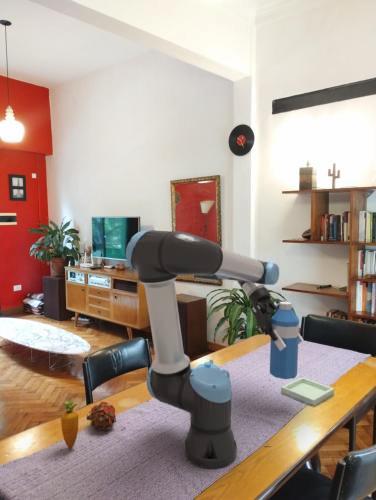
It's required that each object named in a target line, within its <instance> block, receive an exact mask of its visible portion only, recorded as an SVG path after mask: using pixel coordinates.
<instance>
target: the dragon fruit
mask: <svg viewBox="0 0 376 500" xmlns="http://www.w3.org/2000/svg"><path fill="white" fill-rule="evenodd" d="M88 413H89V415H88V414H87V415H86V416H85V417H86V420H87V421H91V422H90V425H91V427H93V428H95V429H98V430H101V431H106V430H109V429H111V427H112V425H113V424H114V423H116V422H117V420H116V419H117V418H116V408H115V407H114V405H112V404H109V403H108V402H107V401H100V402H99V404H96V405H94V406H93V407H91V408H90V411H89V412H88Z"/></svg>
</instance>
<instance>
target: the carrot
mask: <svg viewBox="0 0 376 500" xmlns="http://www.w3.org/2000/svg"><path fill="white" fill-rule="evenodd" d="M74 400H75V399H74V398H71V400H70V403H69V402H68V401H64V405H65V406H64V407H65V409H66V410H64V411H63V412H62V413H60V424H61V425H60V426H61V433H62V436H63V440H64V443H65V445H66V447H67V448H68V449H69V450H71V449H73V448H74V446H75V444H76V440H77V437H78V432H79V414H78V411H77V410H76V409H74V408H75V407H77V406H78V405H79V404H78V403H77V402H75V403H74Z"/></svg>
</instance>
